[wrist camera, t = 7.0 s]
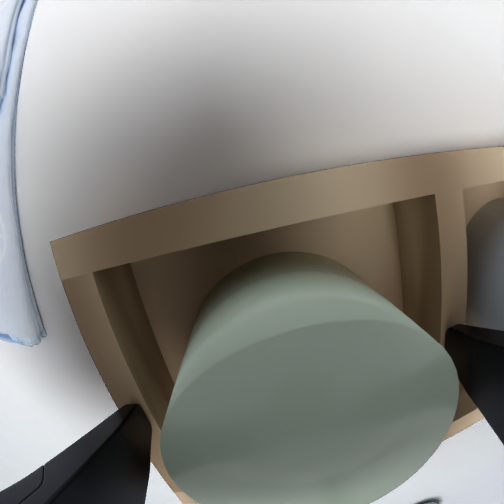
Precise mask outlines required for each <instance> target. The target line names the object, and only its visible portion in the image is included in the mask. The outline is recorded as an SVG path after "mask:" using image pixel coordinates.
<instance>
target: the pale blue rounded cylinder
mask: <svg viewBox="0 0 504 504" xmlns="http://www.w3.org/2000/svg"><path fill="white" fill-rule="evenodd" d="M466 237H467V307H466V322H465V325H470V326H476V327H483V328H489V329H495V330H502V331H504V198H497V199H494V200H492V201H490V202H488V203H486V204H485V205H484V206H482V207H481V208H480V209H479V210H478V211H477V212H476V213H475V215H474V216H473V217H472V218H471V220H470V221H469V223H468V224H467V226H466Z"/></svg>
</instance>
